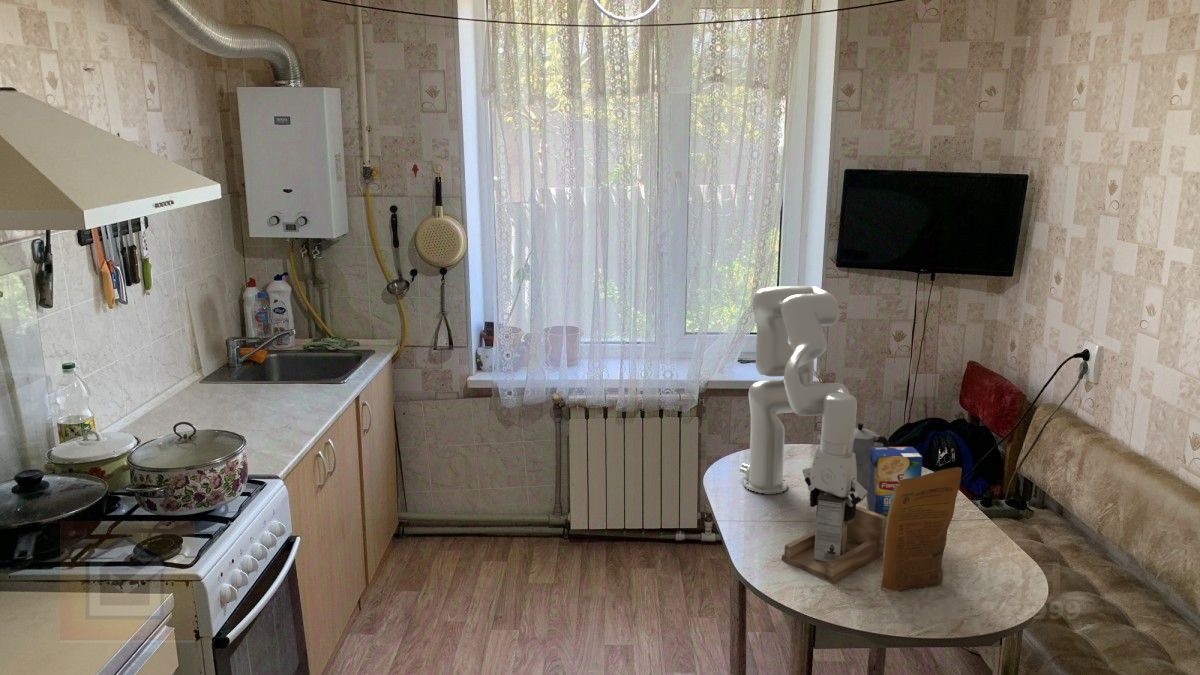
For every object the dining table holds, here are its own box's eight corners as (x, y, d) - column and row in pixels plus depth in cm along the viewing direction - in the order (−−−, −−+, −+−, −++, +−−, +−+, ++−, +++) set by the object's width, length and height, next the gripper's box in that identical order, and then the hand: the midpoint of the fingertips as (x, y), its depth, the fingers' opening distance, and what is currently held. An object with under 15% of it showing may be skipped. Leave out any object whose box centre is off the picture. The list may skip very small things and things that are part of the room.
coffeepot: (828, 481, 261) (831, 423, 256) (841, 471, 268) (845, 414, 264) (879, 495, 251) (884, 434, 247) (892, 484, 259) (897, 425, 254)
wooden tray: (781, 559, 215) (783, 520, 213) (830, 534, 228) (832, 497, 226) (834, 583, 204) (837, 542, 202) (883, 555, 217) (886, 516, 215)
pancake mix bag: (960, 586, 203) (972, 470, 196) (886, 598, 198) (896, 480, 191) (941, 572, 209) (952, 459, 202) (869, 583, 204) (878, 469, 197)
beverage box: (916, 538, 226) (923, 456, 220) (872, 539, 225) (878, 457, 220) (906, 526, 232) (913, 446, 227) (864, 527, 232) (869, 447, 227)
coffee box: (820, 543, 221) (823, 482, 217) (846, 548, 218) (850, 486, 215) (813, 560, 213) (816, 497, 209) (840, 565, 210) (844, 501, 206)
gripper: (796, 438, 213) (792, 504, 217) (859, 461, 200) (854, 530, 205) (815, 431, 217) (811, 495, 222) (878, 452, 205) (872, 520, 210)
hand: (831, 512), depth 213 cm, fingers open, 9 cm apart
